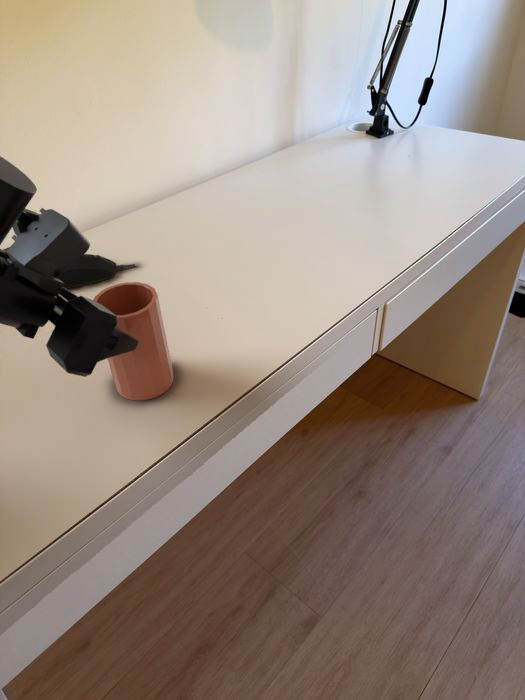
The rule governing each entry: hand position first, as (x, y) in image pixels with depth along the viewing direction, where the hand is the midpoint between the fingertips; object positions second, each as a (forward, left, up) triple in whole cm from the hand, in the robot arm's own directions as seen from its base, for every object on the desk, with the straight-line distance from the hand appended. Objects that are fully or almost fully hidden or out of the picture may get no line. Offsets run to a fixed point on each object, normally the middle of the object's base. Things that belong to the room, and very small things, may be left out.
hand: (113, 327), depth 58 cm
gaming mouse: (-1, +30, -10) cm, 31 cm away
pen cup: (+2, +1, -9) cm, 10 cm away
